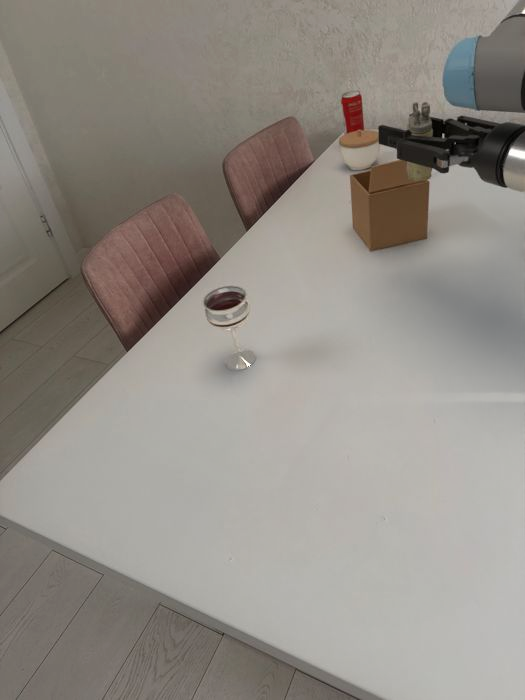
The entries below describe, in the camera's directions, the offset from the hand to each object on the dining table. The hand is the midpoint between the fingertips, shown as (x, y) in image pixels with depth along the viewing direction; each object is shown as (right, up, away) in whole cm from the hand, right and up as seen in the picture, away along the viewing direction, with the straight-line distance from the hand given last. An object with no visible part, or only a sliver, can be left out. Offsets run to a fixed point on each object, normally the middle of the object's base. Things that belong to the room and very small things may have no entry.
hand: (396, 128), depth 80 cm
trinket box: (+6, +15, +57) cm, 59 cm away
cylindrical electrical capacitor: (+3, -7, 0) cm, 8 cm away
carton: (+5, -11, +25) cm, 28 cm away
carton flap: (+4, -3, +10) cm, 12 cm away
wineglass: (-25, -37, +1) cm, 45 cm away
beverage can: (+6, +25, +69) cm, 73 cm away
